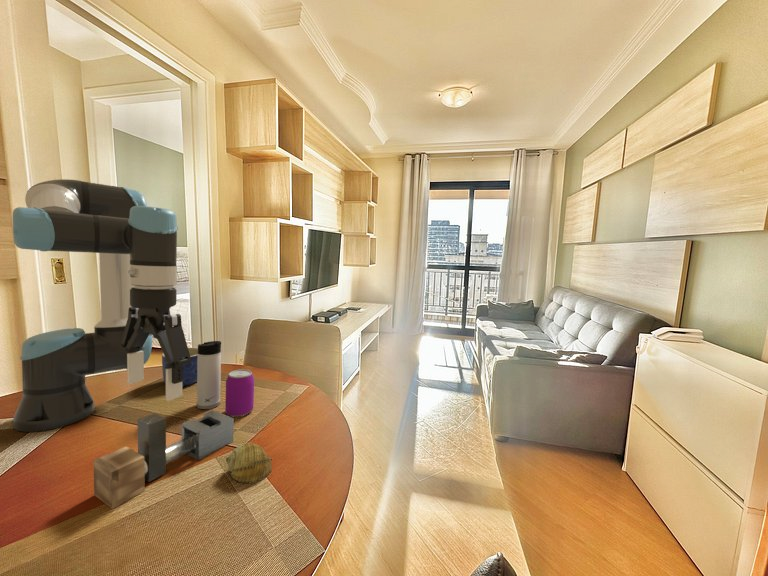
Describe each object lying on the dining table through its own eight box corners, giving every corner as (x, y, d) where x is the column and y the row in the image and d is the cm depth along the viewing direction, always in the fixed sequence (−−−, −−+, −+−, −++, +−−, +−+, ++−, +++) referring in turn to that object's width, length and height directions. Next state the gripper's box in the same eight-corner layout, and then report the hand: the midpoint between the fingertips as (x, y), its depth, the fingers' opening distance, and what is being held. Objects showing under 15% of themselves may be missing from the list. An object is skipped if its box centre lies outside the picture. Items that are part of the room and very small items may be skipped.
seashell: (267, 483, 72) (268, 444, 76) (277, 478, 67) (278, 438, 71) (219, 489, 66) (224, 447, 71) (227, 485, 62) (231, 440, 66)
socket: (126, 478, 65) (126, 446, 64) (144, 490, 62) (144, 456, 61) (94, 495, 60) (93, 460, 59) (112, 508, 57) (111, 472, 56)
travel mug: (211, 411, 94) (212, 345, 92) (192, 407, 95) (192, 342, 93) (225, 402, 100) (226, 340, 98) (207, 399, 101) (208, 337, 99)
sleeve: (216, 433, 82) (216, 408, 82) (233, 441, 80) (233, 415, 79) (181, 451, 74) (181, 423, 74) (198, 460, 72) (199, 431, 71)
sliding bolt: (188, 449, 75) (189, 400, 74) (199, 454, 73) (200, 404, 72) (108, 489, 61) (108, 430, 60) (119, 497, 59) (119, 436, 58)
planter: (199, 373, 121) (199, 345, 121) (206, 384, 112) (206, 354, 111) (160, 379, 114) (160, 350, 113) (163, 392, 104) (163, 360, 103)
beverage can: (227, 407, 97) (228, 369, 96) (254, 404, 99) (255, 367, 98) (223, 419, 90) (223, 378, 88) (252, 416, 92) (253, 376, 91)
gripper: (99, 281, 65) (100, 381, 67) (171, 294, 54) (171, 413, 56) (140, 280, 72) (140, 371, 73) (212, 292, 61) (211, 398, 63)
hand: (154, 389), depth 65 cm, fingers open, 13 cm apart
